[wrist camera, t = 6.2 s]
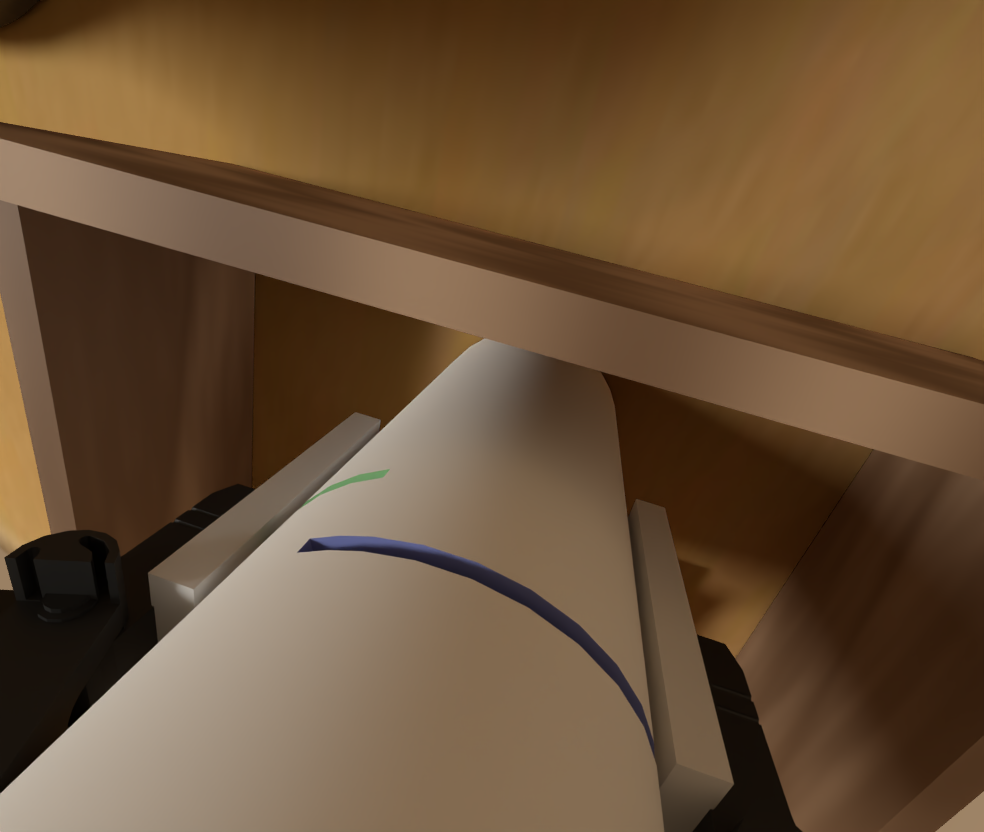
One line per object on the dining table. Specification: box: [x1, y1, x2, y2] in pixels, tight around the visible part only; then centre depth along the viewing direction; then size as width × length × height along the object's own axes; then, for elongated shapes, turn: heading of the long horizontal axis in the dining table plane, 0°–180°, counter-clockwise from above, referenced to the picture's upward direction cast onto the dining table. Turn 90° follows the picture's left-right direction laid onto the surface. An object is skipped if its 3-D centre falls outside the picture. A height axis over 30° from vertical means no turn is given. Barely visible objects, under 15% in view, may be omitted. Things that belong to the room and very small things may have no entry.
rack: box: [0, 122, 984, 832], centre depth 15 cm, size 26×17×10 cm, turn 76°
